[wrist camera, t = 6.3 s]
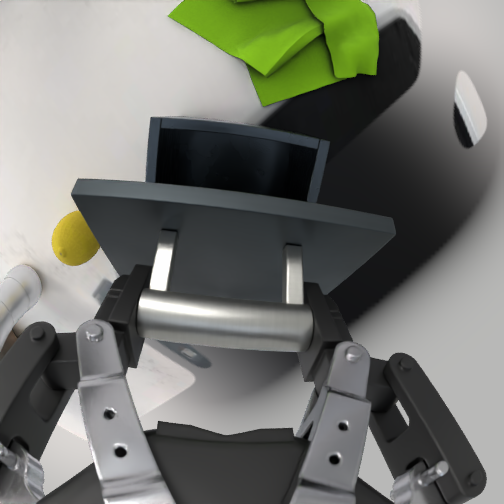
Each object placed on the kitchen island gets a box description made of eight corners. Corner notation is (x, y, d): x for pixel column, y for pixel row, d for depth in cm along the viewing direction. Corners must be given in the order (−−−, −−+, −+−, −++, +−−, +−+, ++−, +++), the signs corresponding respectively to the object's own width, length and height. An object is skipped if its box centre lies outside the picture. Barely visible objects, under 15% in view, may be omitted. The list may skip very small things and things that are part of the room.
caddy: (177, 116, 26) (150, 116, 17) (300, 132, 27) (330, 141, 18) (167, 253, 32) (146, 303, 24) (272, 265, 34) (286, 318, 25)
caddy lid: (77, 177, 9) (33, 303, 7) (392, 217, 11) (412, 339, 8) (146, 302, 23) (138, 358, 21) (286, 317, 25) (286, 372, 23)
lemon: (121, 227, 31) (93, 260, 23) (94, 252, 32) (65, 287, 25) (92, 192, 28) (56, 216, 21) (67, 219, 29) (32, 248, 22)
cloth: (395, 85, 25) (406, 84, 22) (202, 124, 26) (199, 125, 24) (341, -55, 15) (348, -63, 13) (154, -27, 17) (149, -36, 15)
